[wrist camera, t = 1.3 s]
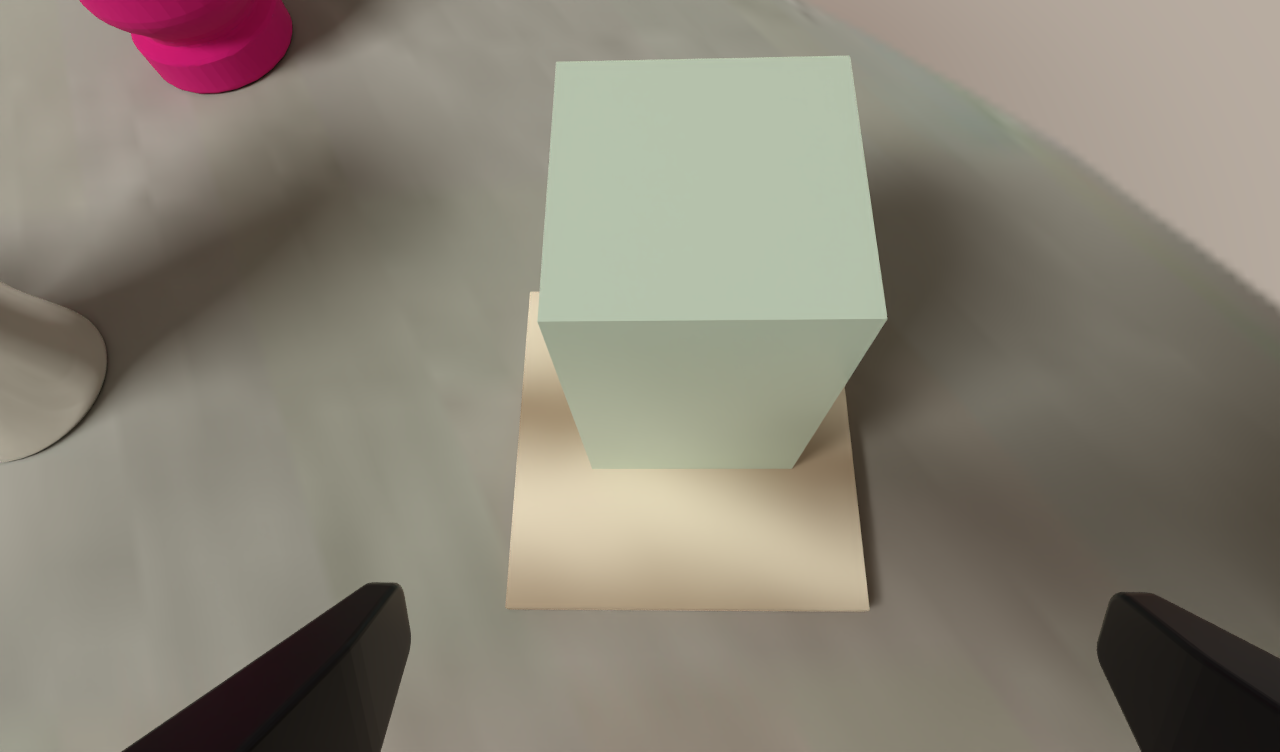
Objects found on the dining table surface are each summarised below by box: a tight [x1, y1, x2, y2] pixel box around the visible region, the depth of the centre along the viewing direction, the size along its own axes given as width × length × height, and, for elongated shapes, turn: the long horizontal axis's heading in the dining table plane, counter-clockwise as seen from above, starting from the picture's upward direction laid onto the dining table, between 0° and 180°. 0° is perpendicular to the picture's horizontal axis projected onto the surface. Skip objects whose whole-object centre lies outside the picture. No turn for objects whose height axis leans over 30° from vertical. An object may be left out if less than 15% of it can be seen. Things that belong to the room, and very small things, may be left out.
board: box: [505, 292, 870, 612], centre depth 24 cm, size 11×11×1 cm
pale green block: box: [537, 56, 887, 469], centre depth 19 cm, size 6×6×11 cm
